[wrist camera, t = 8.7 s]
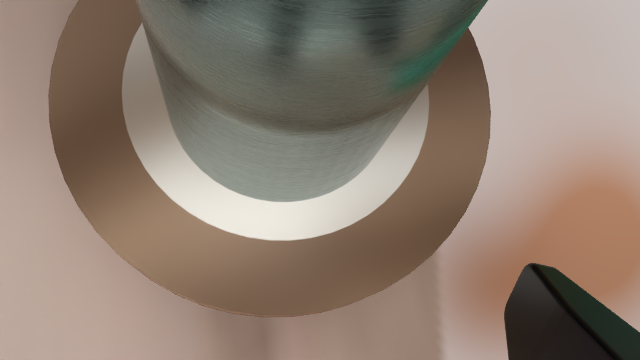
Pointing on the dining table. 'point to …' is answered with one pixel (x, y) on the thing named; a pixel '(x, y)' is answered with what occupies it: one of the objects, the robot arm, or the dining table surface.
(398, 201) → the turntable
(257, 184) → the tea tin
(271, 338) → the dining table surface
